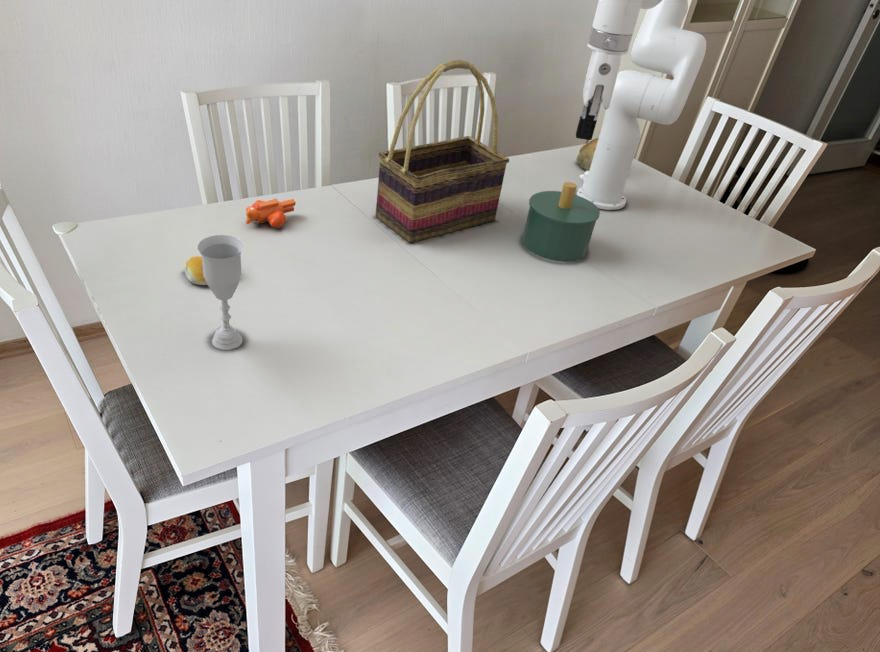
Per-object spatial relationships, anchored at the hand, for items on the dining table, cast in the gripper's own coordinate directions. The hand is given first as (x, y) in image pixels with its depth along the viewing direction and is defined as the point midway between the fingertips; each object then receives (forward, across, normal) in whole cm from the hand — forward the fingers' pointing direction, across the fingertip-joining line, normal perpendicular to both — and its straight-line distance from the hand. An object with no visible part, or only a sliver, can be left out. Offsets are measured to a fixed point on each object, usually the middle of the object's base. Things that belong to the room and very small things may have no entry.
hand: (583, 137), depth 137 cm
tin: (+25, 0, 0) cm, 25 cm away
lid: (+16, 0, 0) cm, 16 cm away
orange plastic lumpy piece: (+25, -13, +62) cm, 68 cm away
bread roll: (+25, -37, +66) cm, 79 cm away
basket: (+25, +3, +28) cm, 38 cm away
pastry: (+25, +52, -12) cm, 59 cm away
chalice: (+25, -55, +55) cm, 81 cm away
